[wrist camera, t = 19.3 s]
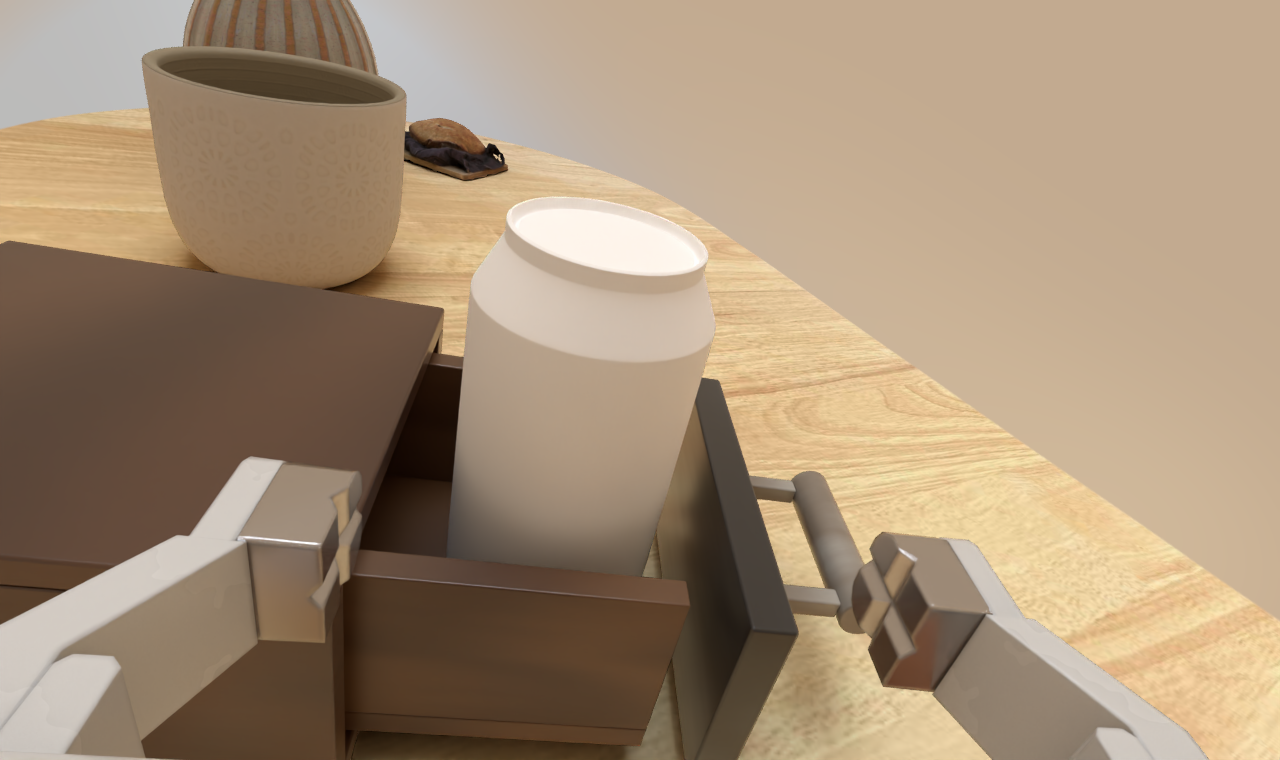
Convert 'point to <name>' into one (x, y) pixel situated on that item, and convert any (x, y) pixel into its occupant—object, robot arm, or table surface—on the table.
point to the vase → (284, 29)
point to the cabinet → (190, 447)
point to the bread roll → (451, 149)
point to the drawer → (582, 603)
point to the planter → (277, 161)
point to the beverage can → (577, 385)
